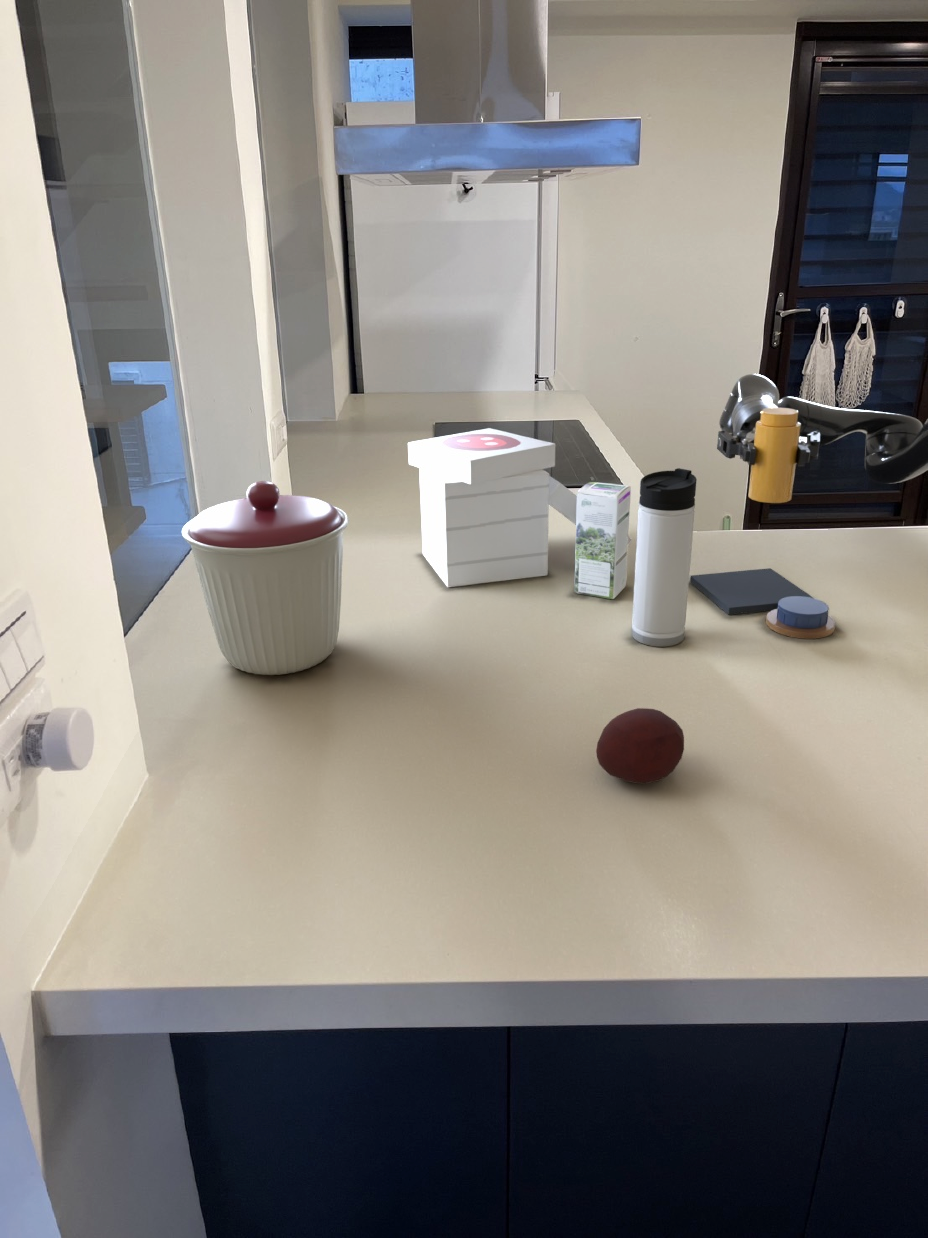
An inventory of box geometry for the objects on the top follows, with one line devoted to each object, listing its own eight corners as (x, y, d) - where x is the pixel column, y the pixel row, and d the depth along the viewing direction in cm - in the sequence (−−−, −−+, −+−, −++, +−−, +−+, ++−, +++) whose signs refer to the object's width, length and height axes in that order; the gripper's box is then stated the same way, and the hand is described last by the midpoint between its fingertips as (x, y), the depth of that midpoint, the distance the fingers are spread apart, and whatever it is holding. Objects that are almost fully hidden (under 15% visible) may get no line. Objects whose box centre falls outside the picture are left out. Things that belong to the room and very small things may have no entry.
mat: (769, 574, 128) (770, 567, 127) (815, 606, 117) (816, 599, 117) (689, 582, 126) (690, 575, 126) (728, 615, 115) (729, 607, 115)
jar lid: (791, 631, 108) (793, 616, 108) (767, 612, 114) (769, 598, 113) (836, 626, 109) (838, 611, 108) (810, 608, 114) (812, 594, 114)
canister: (330, 697, 97) (313, 508, 89) (174, 686, 100) (143, 502, 92) (376, 629, 113) (365, 463, 105) (240, 622, 117) (219, 460, 108)
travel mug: (696, 635, 110) (710, 473, 102) (664, 652, 106) (676, 484, 98) (652, 621, 114) (663, 464, 106) (621, 637, 110) (629, 475, 102)
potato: (702, 786, 80) (708, 727, 78) (619, 806, 78) (622, 746, 75) (658, 746, 87) (663, 690, 84) (580, 763, 84) (582, 706, 82)
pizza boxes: (636, 568, 131) (643, 445, 124) (436, 594, 124) (431, 464, 117) (584, 530, 148) (588, 419, 141) (405, 550, 141) (400, 434, 134)
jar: (778, 490, 126) (789, 405, 121) (799, 501, 120) (810, 413, 116) (741, 493, 125) (749, 408, 120) (760, 504, 120) (770, 416, 115)
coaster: (812, 610, 116) (813, 604, 116) (847, 635, 109) (848, 629, 108) (754, 615, 115) (754, 610, 114) (786, 641, 107) (787, 635, 107)
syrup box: (627, 586, 125) (632, 483, 119) (613, 601, 120) (618, 495, 114) (588, 580, 127) (591, 479, 122) (572, 594, 123) (575, 490, 117)
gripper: (712, 403, 133) (723, 428, 117) (815, 404, 130) (840, 430, 115) (708, 454, 136) (718, 485, 120) (809, 455, 133) (831, 487, 118)
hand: (777, 457), depth 118 cm, fingers closed on jar, 5 cm apart
